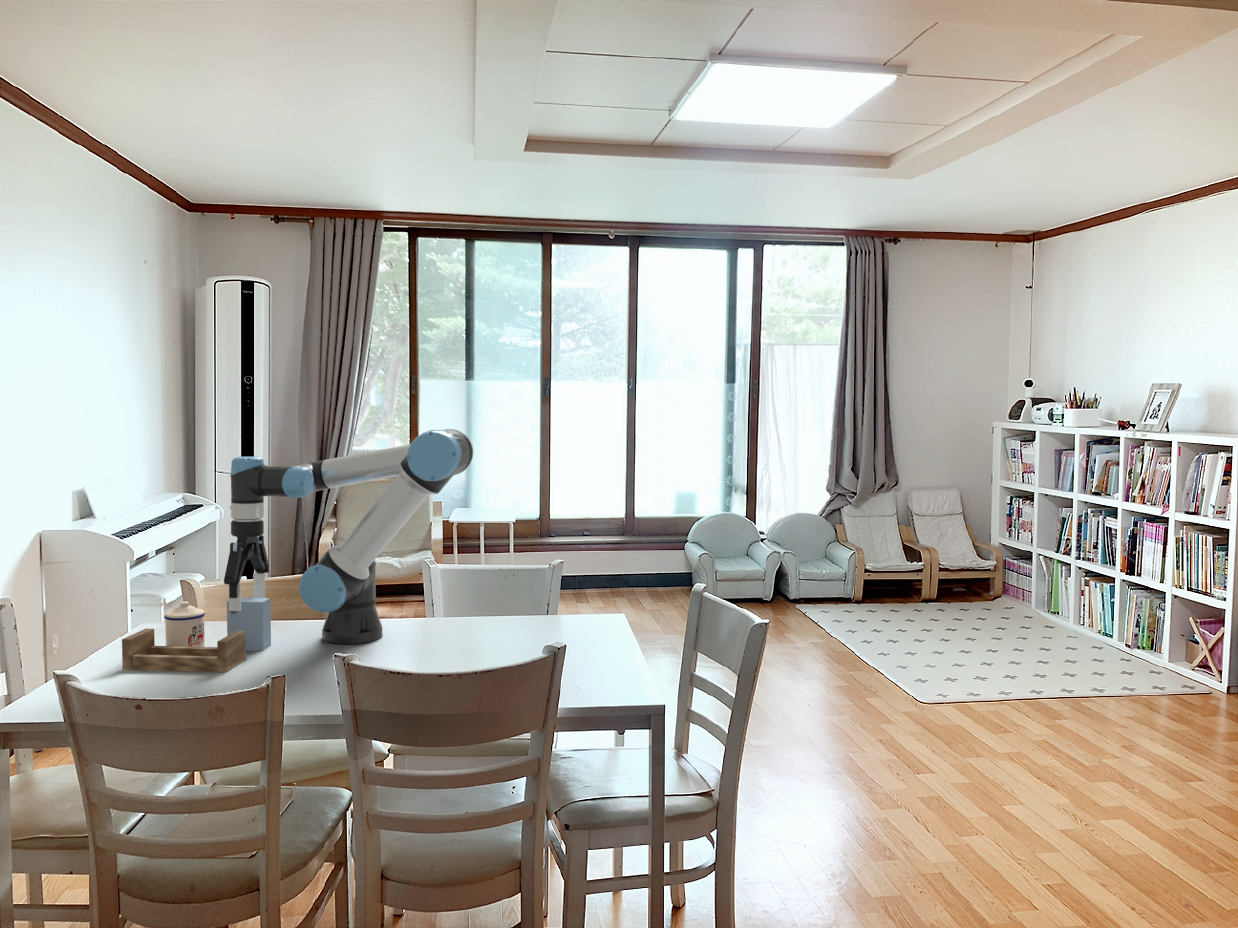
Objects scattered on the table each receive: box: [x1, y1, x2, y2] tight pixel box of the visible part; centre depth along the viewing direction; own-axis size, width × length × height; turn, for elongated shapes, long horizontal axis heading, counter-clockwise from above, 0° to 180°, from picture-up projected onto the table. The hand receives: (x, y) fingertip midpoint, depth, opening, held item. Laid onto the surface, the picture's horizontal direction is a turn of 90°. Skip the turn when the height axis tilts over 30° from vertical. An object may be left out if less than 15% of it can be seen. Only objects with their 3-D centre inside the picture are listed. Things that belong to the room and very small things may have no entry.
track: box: [121, 628, 247, 673], centre depth 216 cm, size 24×10×7 cm, turn 88°
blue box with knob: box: [226, 597, 272, 651], centre depth 231 cm, size 9×6×12 cm, turn 88°
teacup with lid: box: [163, 601, 206, 647], centre depth 231 cm, size 12×9×12 cm
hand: (247, 604), depth 231 cm, fingers open, 13 cm apart
